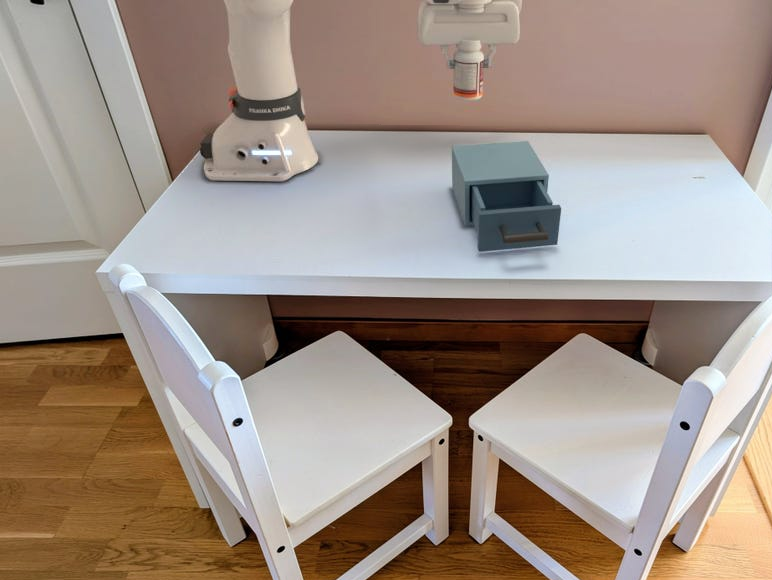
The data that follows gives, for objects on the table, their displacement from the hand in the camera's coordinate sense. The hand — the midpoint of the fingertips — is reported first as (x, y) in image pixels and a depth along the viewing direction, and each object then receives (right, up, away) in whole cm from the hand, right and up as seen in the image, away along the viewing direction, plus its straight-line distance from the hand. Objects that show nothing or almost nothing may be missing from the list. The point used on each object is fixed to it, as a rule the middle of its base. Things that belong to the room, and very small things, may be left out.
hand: (468, 67), depth 124 cm
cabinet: (+6, -31, -10) cm, 33 cm away
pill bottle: (0, -4, +4) cm, 6 cm away
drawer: (+8, -38, -20) cm, 44 cm away
